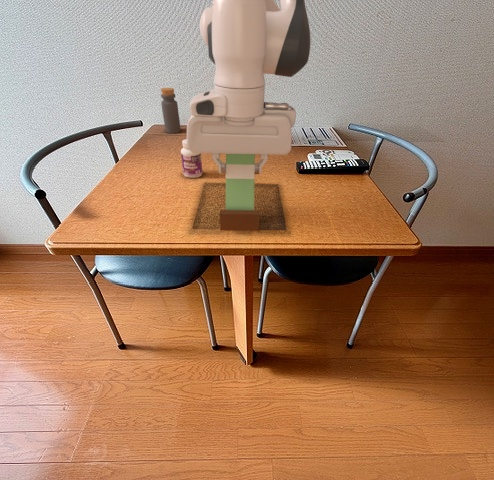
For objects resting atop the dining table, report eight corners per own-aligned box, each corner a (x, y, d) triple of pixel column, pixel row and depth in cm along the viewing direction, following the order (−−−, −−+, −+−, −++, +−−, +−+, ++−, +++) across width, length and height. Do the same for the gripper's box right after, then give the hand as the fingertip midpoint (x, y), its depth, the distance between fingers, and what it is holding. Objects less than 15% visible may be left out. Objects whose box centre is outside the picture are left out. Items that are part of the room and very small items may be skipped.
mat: (204, 184, 78) (203, 168, 75) (278, 185, 78) (279, 169, 75) (191, 232, 60) (189, 213, 57) (286, 233, 61) (289, 214, 58)
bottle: (181, 132, 112) (175, 90, 103) (165, 133, 111) (158, 90, 101) (180, 128, 116) (175, 87, 107) (165, 129, 115) (158, 87, 106)
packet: (226, 219, 63) (226, 154, 62) (253, 219, 63) (254, 154, 62) (225, 219, 61) (225, 151, 59) (254, 219, 61) (254, 152, 59)
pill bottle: (184, 179, 79) (179, 144, 74) (182, 171, 84) (178, 138, 78) (203, 177, 81) (200, 143, 75) (201, 170, 85) (198, 137, 79)
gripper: (294, 99, 54) (287, 167, 63) (186, 95, 54) (194, 165, 62) (299, 107, 49) (290, 180, 58) (180, 104, 49) (189, 178, 57)
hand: (240, 172), depth 60 cm, fingers closed on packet, 6 cm apart
